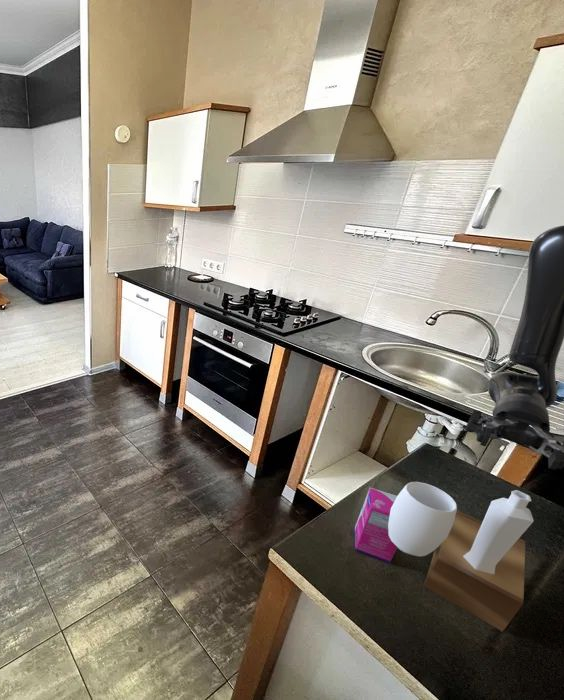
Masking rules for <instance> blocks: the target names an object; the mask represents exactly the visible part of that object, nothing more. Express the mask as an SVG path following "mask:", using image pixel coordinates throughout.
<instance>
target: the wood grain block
mask: <svg viewBox="0 0 564 700" xmlns="http://www.w3.org/2000/svg"><path fill="white" fill-rule="evenodd" d="M482 522H483V521H482V520H480V519H477V518H474V517H473V516H470V515H468V514H466V513H464V512H461V511H459V510H457V511H456V515H455V519H454V523H453V526H452V528H451V530H450V532H449V534H448V537H447V538H446V539H445V540H444V541H443V542H442V543H441V544H440V545H439V546H438V547H437V548H436V549H435V550H434V551H433V552H432V553H433V554H432V556H431V561H430V564H429V567H428V571H427V574H426V578H425V580H424V582H423V587H424V588H425V589H428V590H429V591H431V592H433V593H435V594H436V595H437V596H440V597H441V598H443V599H445V600H446V601H448V602H449V603H452V604H453V605H455V606H457V607H459V608H460V609H462V610H463V611H466V612H467V613H469V614H471V615H473V616H474V617H476V618H478V619H479V620H481V621H483V622H484V623H486V624H488V625H490V626H491V627H493V628H495V629H497V630H499V631H500V632H502V633H503V632H504V631H505V630H506V628H507V627H508V626H509V624H510V623H511V621H512V620H513V619H514V617H515V616H516V615H517V613H518V612H519V611H520V610H521V608H522V606H524V602H525V601H524V600H525V599H524V597H525V573H526V572H525V568H526V567H525V566H526V543H527V542H526V540H524V539H522V538H519V539H518V540H517V541H516V542H515V544H514V545H513V546H512V547H511V548H510V549H509V551H508V552H507V553H506V554H505V555H504V556H503V557H502V559H501V560H500V561H499V562H498V563H497V564H496V566H495V573H494V574H490V573H486V572H482V571H478V570H476V569H474V568H473V567H472V565H471V564H470V563H469V562H468V561H467V560H466V559H465V558H464V557H463V556H464V555H465V554H467V553H468V552H469V551H470V550H471V548H472V545H473V543H474V541H475V539H476V536H477V534H478V532H479V529H480V527H481V525H482Z"/></svg>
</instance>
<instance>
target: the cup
mask: <svg viewBox="0 0 564 700" xmlns="http://www.w3.org/2000/svg"><path fill="white" fill-rule="evenodd" d="M396 496H397V498H396V500H395V501H394V503H393V505H392V507H391V510H390V516H389V522H388V533H389V537H390V539H391V541H392V542H393V543H394V544H395V545H396V546H397V549H398V550H400V551H401V552H403V553H405V554H407V555H411V556H415V557H418V558H419V557H425V556H428V555H429V554H431V553H433V552H434V550H435V549H436V548H437V547H438V546H439V545H440V544H441V543H442V542H443V541H444V540H445V539H446V538H447V537H448V534H449V532H450V530H451V528H452V526H453V523H454V519H455V515H456V511H458V505H457V503H456V501H455V500H454V498H453V497H452V496H450V495H449V493H446V492H445V491H444V490H442V489H440V488H438V487H436V486H434V485H431V484H429V483H426V482H421V481H410V482H408V483H407V484H405V485H404V487H403V488H402V489H401V490H400V492H399V493H398V494H397V495H396Z"/></svg>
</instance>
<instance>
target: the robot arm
mask: <svg viewBox="0 0 564 700" xmlns="http://www.w3.org/2000/svg"><path fill="white" fill-rule="evenodd" d="M528 251H529V252H528V260H527V275H526V276H527V277H526V286H525V294H524V299H523V304H522V309H521V313H520V316H519V317H520V318H519V321H518V324H517V327H516V331H515V333H514V337H513V340H512V343H511V346H510V349H509V353H508V360H509V361H510V362H512V363H514V364H515V365H519V366H522V367H524V368H528V369H531V370H532V371H534V372H535V373H536V374H537V376H536V375H535V376H534V375H529V374H523V373H516V372H511V371H510V372H509V371H503V372H502V371H501V372H498V373H495V374H493V375H492V376H491V377H490V378H489V380H488V383H487V393H488V396H489V398H490V399H491V400H492V401H493V402H494V403H495V404H494V407H493V410H492V417H487V416H485V415H484V414H483V412H482V411H480V410H479V409H478V410H477V409H473V410H472V413H471V415H470V417H469V419H468V421H467V423H466V425H465V427H464V430H465V431H466V432H468V433H473V432H474V433H475V434H476V439H475V440H476V442H478V443H480V446H483V447H486V446H487V445H488V443H489V441H490V439H492V440H502V439H503V440H507V441H510V442H511V443H517V444H520V445H523V446H525V447H527V448H529V449H531V450H532V451H534V452H535V453H536V454H538V455H543V456H545V457H546V458H548V459H547V462H548V469H550V470H553V471H556V470H557V469H559V470H562V469H563V468H564V439H561V438H558V437H555V435H554V434H553V433H552V432H551V425H550V415H549V411H548V408H549V407H551V406H552V405H553V404H554V403H556V401H557V399H558V388H557V381H556V364H557V361H558V357H559V355H560V351H561V348H562V346H563V342H564V225H558V226H555V227H552V228H549V229H547V230H545V231H543V232H541V233H540V234H539V235H538V236H537V237H535V239H533V241H532V243H531V245H530V247H529V250H528Z"/></svg>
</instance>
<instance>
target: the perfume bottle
mask: <svg viewBox="0 0 564 700" xmlns="http://www.w3.org/2000/svg"><path fill="white" fill-rule="evenodd" d="M510 493H511V494H510V496H509V497H508V498H506V497H501V498H497V499H494V500H493V499H492V500H491V502H490V504H489V506H488V509H487V511H486V513H485V515H484V517H483V520H482V521H481V522H482V525H481V527H480V529H479V532H478V534H477V536H476V539H475V541H474V543H473V545H472V548H471V550H470V551H469V552H468V553H467V554H465V555H464V556H463V557H464V558H465V559H466V560H467V561H468V562H469V563H470V564H471V565H472V567H473V568H474V569H476V570H478V571H482V572H486V573H490V574H494V573H495V566H496V564H497V563H498V562H499V561H500V560H501V559H502V557H503V556H504V555H505V554H506V553H507V552H508V551H509V549H510V548H511V547H512V546H513V545H514V544H515V542H516V541H517V540H518V539H521V537H522V535H523V534H525V532H526V531H527V530H528V529H529V527H530V526H531V525H532V524H533V523H534V521H535V520H534V517H533V514H532V512H531V510H530V509H529V508H528V507H527V506H528V504H529V502H532V498H531V496H530V495H529V494H527V493H525V492H523V491H520V490H518V489H515V490H511V491H510Z"/></svg>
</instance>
